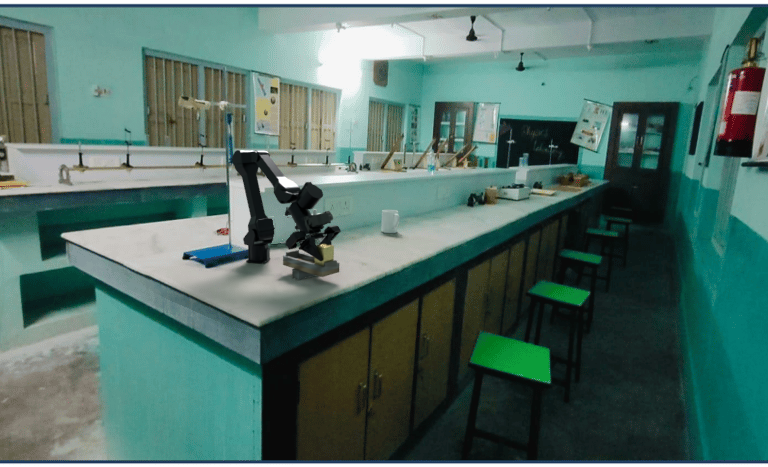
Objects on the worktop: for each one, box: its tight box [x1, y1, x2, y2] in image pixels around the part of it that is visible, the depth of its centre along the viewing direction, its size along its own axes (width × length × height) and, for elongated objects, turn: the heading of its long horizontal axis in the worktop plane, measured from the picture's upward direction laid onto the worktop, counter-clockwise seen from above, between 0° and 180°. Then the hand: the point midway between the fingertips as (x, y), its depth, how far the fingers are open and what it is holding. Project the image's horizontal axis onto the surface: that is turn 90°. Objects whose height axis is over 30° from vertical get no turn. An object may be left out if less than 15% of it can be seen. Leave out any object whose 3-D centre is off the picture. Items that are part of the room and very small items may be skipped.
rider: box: [315, 243, 335, 266], centre depth 136 cm, size 4×4×7 cm
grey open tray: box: [282, 249, 340, 281], centre depth 141 cm, size 18×9×7 cm, turn 52°
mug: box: [380, 209, 401, 234], centre depth 216 cm, size 12×8×10 cm, turn 29°
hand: (327, 259), depth 136 cm, fingers closed on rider, 4 cm apart
